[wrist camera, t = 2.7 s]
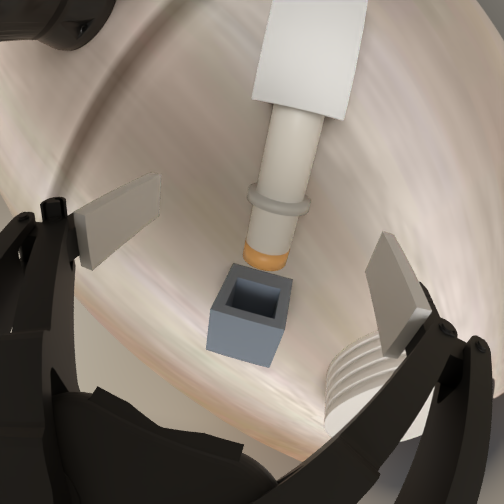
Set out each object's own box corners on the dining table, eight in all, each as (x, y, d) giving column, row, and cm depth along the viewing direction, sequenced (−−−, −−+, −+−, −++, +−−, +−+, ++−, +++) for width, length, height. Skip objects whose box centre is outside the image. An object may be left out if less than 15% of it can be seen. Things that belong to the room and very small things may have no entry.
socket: (233, 263, 41) (210, 309, 32) (292, 279, 40) (284, 330, 31) (226, 303, 45) (206, 349, 36) (279, 317, 44) (269, 367, 35)
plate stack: (375, 414, 55) (376, 453, 45) (298, 375, 51) (291, 423, 41) (470, 359, 41) (483, 400, 31) (414, 295, 37) (434, 349, 27)
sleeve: (292, -7, 20) (284, -45, 12) (357, 7, 20) (371, -27, 11) (268, 103, 29) (251, 99, 20) (333, 118, 28) (343, 120, 19)
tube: (295, -9, 19) (289, -35, 13) (354, 4, 18) (362, -19, 12) (243, 238, 35) (229, 265, 29) (294, 251, 34) (289, 281, 29)
